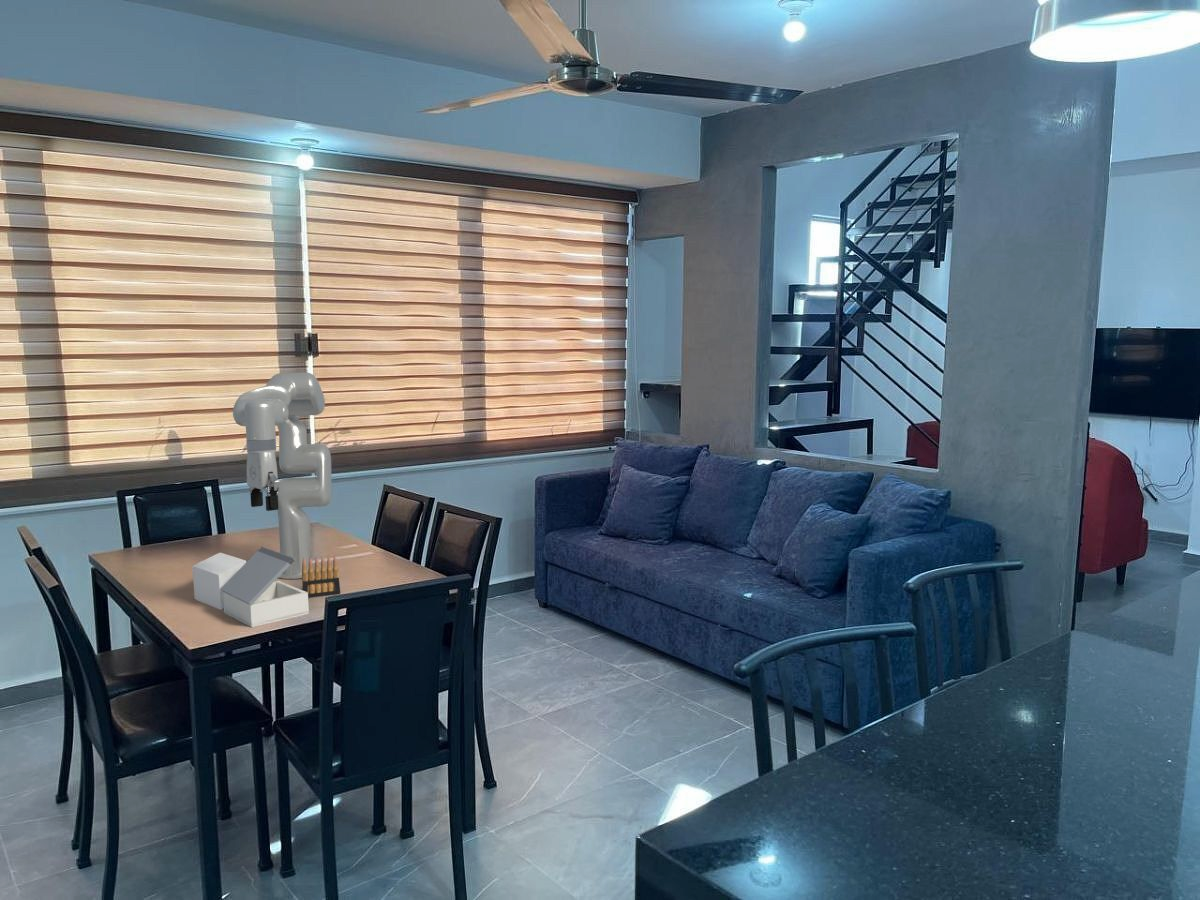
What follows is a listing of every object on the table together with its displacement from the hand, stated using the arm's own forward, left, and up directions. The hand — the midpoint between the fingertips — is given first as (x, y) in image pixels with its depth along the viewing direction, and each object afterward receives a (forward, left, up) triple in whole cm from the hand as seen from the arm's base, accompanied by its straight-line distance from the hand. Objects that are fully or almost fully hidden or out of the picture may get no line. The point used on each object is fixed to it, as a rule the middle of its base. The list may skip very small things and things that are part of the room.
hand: (264, 508), depth 237 cm
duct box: (0, -1, -29) cm, 30 cm away
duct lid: (0, -3, -18) cm, 19 cm away
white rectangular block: (-26, -3, -30) cm, 40 cm away
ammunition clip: (-5, +18, -30) cm, 35 cm away
